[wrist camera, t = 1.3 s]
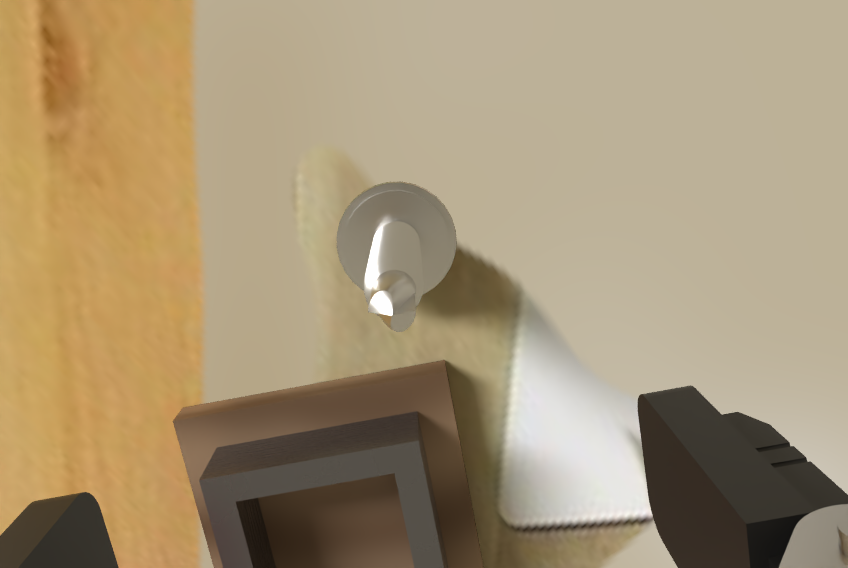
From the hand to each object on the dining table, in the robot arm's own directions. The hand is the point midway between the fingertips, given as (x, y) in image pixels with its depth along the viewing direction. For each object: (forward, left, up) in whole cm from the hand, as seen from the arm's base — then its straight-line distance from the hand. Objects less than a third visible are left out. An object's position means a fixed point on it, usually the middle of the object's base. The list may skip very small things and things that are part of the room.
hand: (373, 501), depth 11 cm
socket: (+12, -5, -21) cm, 25 cm away
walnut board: (+12, -5, -23) cm, 26 cm away
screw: (0, 0, -23) cm, 23 cm away
